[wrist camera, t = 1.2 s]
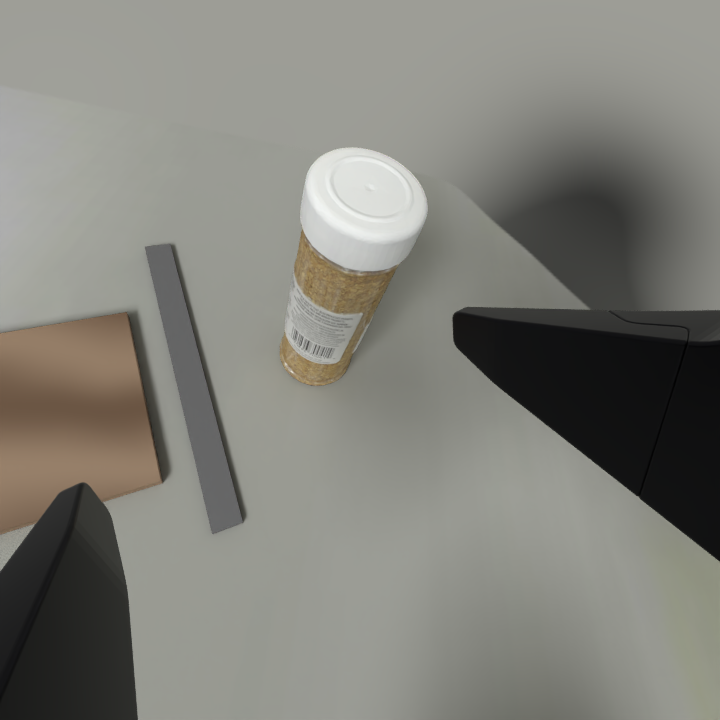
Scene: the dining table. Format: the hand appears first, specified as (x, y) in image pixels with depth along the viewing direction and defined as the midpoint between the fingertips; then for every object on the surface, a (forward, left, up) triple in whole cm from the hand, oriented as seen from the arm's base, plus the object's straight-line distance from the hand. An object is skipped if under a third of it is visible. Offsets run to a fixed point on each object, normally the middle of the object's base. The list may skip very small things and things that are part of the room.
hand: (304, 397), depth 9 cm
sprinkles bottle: (+1, -9, -15) cm, 17 cm away
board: (+12, +1, -14) cm, 19 cm away
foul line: (+7, -4, -14) cm, 17 cm away
